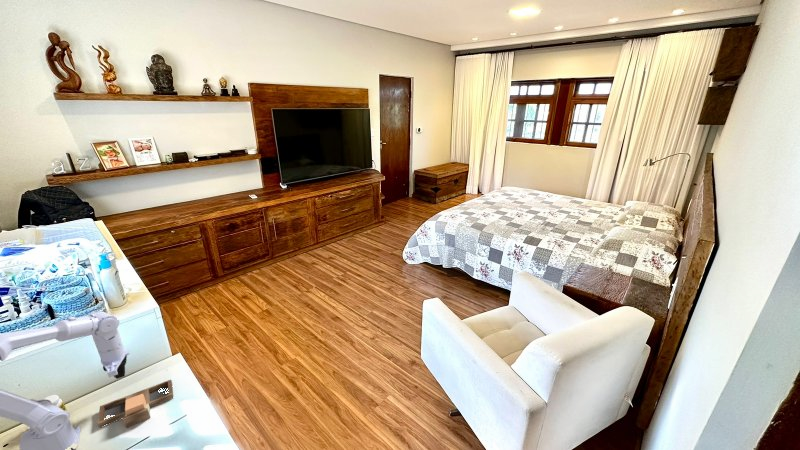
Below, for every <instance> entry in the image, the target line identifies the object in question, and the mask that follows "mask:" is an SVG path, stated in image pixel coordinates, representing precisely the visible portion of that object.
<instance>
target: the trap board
mask: <svg viewBox="0 0 800 450" xmlns="http://www.w3.org/2000/svg"><path fill="white" fill-rule="evenodd" d="M172 386H173V381H172V379H168V380H166V381H162V382H160V383H158V384H156V385H155V384H154V385H152V386H150V387H146V388H145V389H142V390H139V391H136V392H133V393H131V394H129V395H126V396H123V397H120V398H118V399H115V400H112V401H109V402H107V403H105V404H102V405H99V411H98V420H97V425H98V427H101V428H103V427H105V426H104V425H106V424H108V425H110V424H109V423H111V422H113V423H115V422H114V421H116V420H118V421H120V420H119V419H121V418H123V419H121V420H122V421H123V424H124V426H125V428H126V427H127V428H130V427H132V426H134V425H137V424H140V423H141V422H144V421H146V420H148V419H150V418H151V408H152V407H154V406H157V405H160V404H162V403H165V402H167V401H169V399H170V400H172V399H174V398H173V397H174V388H173V387H172ZM160 388H162V389H163V388H164V389H165V388H166V389H167V388H168V390H169V391H168V390H167V391H168V392H169V393H167V394H165V391H166V389H165V391H163V392H160V393H159V392H158V390H159V389H160ZM164 389H163V390H164ZM160 390H161V389H160ZM160 390H159V391H160ZM167 391H166V392H167ZM163 393H164V394H163ZM140 394H143V395H144V397H145V400H146V409H143V410H141V411H138V412H136V413H133V414H131V415H128V416H127V414H126V412H125V403H126V400H127V399H130V398H132V397H135V396H138V395H140ZM171 398H172V399H171ZM107 415H110V416H111V415H115V416H113V417H110V418H108V419H105V420H104V418H106V416H107ZM116 422H117V421H116ZM111 424H112V423H111ZM102 426H103V427H102ZM106 426H107V425H106ZM129 426H130V427H129Z"/></svg>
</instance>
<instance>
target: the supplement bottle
mask: <svg viewBox="0 0 800 450" xmlns="http://www.w3.org/2000/svg"><path fill="white" fill-rule="evenodd" d="M43 399H47V400H50V401H51V402H52V403H53V404H54V405H56V406H58V407H59V408H61V409H62V410H64V411H67V412H68V413H69V411H68V409H67V406H66V405H65V403H64V401H63V400H62V398H60V397H59V395H57V394H52V395H48V396H46V397H45V398H43Z"/></svg>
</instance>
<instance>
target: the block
mask: <svg viewBox="0 0 800 450" xmlns="http://www.w3.org/2000/svg"><path fill="white" fill-rule="evenodd" d="M143 409H146V400H145V397H144V395H143V394H140V395H138V396H135V397H132V398H130V399H127V400H126V403H125V412H126V414H127V416H128V415H131V414H133V413H136V412H138V411H141V410H143Z"/></svg>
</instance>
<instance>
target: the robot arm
mask: <svg viewBox="0 0 800 450" xmlns="http://www.w3.org/2000/svg"><path fill="white" fill-rule="evenodd" d="M119 325H120V319H117V317H116V316H114V315H111V314H110V313H108V312H105V311H102V310H98V311H97V310H94V311H92V312H90V313H88V314H87V315H85V316H80V317H79V316H78V317H75V316H68V317H67V319H62V320H59V321H57V322H56V323H55V324H54V325H52V326H45V327H39V328H30V329H23V330H18V331H10V332H4V333H0V361H1V362H3V361H5V360H6V359H7V358H9V355H10V354H11V353H12V352H13V351H14V350H15V349H20V348H23V347H27V346H28V347H29V346H32V345H35V344H39V343H43V342H47V341H50V340H51V341H52V340H56V341H58V342H65V341H70V340H75V339H79V338H84V337H88V336H92V340H93V342H94V345H95V347H96V350H97V352H98V355H99V358H100V363H101V364H102V366H103V367H102V369H103V371H104V372H106V373H107V376H108V378H112V377H114V378H115V379H118V380H119V379H121V378H124V377H125V376H126V364H127V358H128V356H129V355H130V354H131V350H130V348H129V349H125V348H124V345H123V342H122V338H121V336H120V333H119V330H118V327H119ZM67 411H68V410H67ZM67 411H64V410H62V409H61V408H59V407H58V406H56V405H54V404H53V403H52V402H51V401H50V400H47V399H44V398H43V399H34V398H30V399H29V398H27V397H24V396H21V395H18V394H15V393H14V392H9V391H7V390H5V389H2V388H0V418H5V419H8V420H11V421H15V422H18V423H21V424H23V425H25V426H27V427H28V428H29V430H26V431H25V432H23V433H22V434H21V436H20V440H19V448H20V450H65V449H67V448H68V447H70V446H71V445H72V444H73V443H74V444H77V442H78V443H79V440H78V439H80V434H81V433H80V432H81V426H80V425H78V426H76V427H74V426H73V425H72V423H71V420H70V413H69V411H68V412H67Z"/></svg>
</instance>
